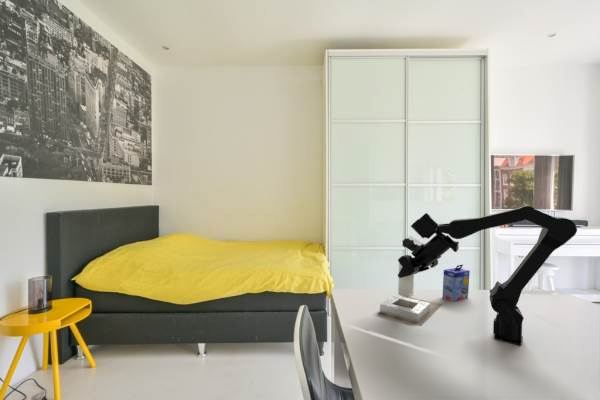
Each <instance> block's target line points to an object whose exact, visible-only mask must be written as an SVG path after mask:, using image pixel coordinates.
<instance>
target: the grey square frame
mask: <svg viewBox="0 0 600 400" xmlns="http://www.w3.org/2000/svg"><path fill="white" fill-rule="evenodd" d="M379 312H380V313H383V314H386V315H390V316H394V317H397V318H401V319H405V320H409V321H412V322H416V323H419V322H420V321H421V320H422V319H423V318H424V317H425V316H426V315H427V314H428V313H429V312H430V303H428V302H423V301H419V300H414V299H410V298H406V297H402V296H401V295H396V294H394V295H392V296H391V297H389V298H387V299H386V300H384V301H383V302H381V303H380V305H379Z"/></svg>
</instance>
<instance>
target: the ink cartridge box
mask: <svg viewBox="0 0 600 400" xmlns="http://www.w3.org/2000/svg"><path fill="white" fill-rule="evenodd" d="M463 266H464V264H459V265H456V267H454V268H447V269H443V278H442V297H441V298H443V299H445V300H449V301H451V302H458V301H461V300H467V299H468V298H469V288H470V287H469V286H470V273H471V272H470V270H469V269H465V268H463Z"/></svg>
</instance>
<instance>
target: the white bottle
mask: <svg viewBox="0 0 600 400" xmlns="http://www.w3.org/2000/svg"><path fill="white" fill-rule="evenodd" d="M401 269H402V265H401V264H400V263H399V262H398V273H399V272H400V270H401ZM414 276H415V274H414V275H410V276H406V277H402V278H399V277H398V286H397V287H398V288H397V289H398V296H401V297H402V296H405V297H411V298H412V297H413V296H414V285H415V283H414V282H415V281H414V279H415V277H414Z"/></svg>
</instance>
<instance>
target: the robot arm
mask: <svg viewBox="0 0 600 400" xmlns="http://www.w3.org/2000/svg"><path fill="white" fill-rule="evenodd" d="M522 221H528V222H531V223H533V224H535V225H536V226H540V227H542V228H541V230H540V232H539V235H538V239H537V241H536V243H535V244H534V245H533V247H532V248H531V249H530V250H529V252H528V253H527V255H525V257H524V258H523V259H522V261H521V262H520V263H519V265H518V266H517V267H516V269H515V270H514V271H513V272H512V273H511V275H510V276H509V278H508V279H507V280H506V281H504V282H503V283H501V282H500V281H498V280H497V281H496V283H495V284H494V286H493V287H492V288H491V289H489V297H488V298H489V301H490V304H491V308H492V309H493V311H494V313H495V312H496V315H495V318H493V326H492V327H493V328H492V330H493V333H492V334H493V335H494V337H493V338H494V339H495V340H499V341H503V342H505V343H509V344H515V345H517V346H522V344H523V339H524V338H523V321H524V316H523V314H522V311H521V310H520V308H519V307H518V306H517V305H518V303H519V301H520V297H521V294H522V291H523V290H524V289H525V287H527V285H528V284H529V282H530V281H531V279H533V277H534V276H535V275H536V273H538V271H539V270H540V269H541V267H542V266H543V265H544V264H545V262H546V261H547V260H548V259H549V257H550V256H551V255H552V254H553V252H554V251H556V250H557V249H559V248H560V247H562V246H563V245H565V244H566V243H567V242H569V241H570V240H571V239H572V238H573V237H574V236H575V235H576V234H577V232H578V228H577V226H576V223H575V222H574V221H573V220H571V219H569V218H566V217H561V216H553V215H550V214H548V213H545V212H543V211H540V210H538V209H536V208H534V207H533V206H531V205H530V206H529V205H522V206H520V207H517V208H514V209H510V210H504V211H501V212H496V213H492V214H488V215H484V216H480V217H470V218H468V217H467V218H457V219H456V218H455V219H453V220H451V221H450V222H447V223H440V224H438V222H436V221H435V220H434V219H433V217H431V215H430V214H429V213H428V212H426V213H424V214H423V215H422V216H420V217H419V218H417V219H416V220H415V221H414V222H413V223H412V224H411V225H410V228H411V229H412V230H413V231H414V232H416V234H418V236H420V237H421V239H430V238H431V237H432V236H433V237H432V238H431V239H430V240H429V241H428V242H426V243H423V242H422V241H420V240H418V239H417V238H415V237H414V236H405V238H404V239H403V240H401V242H402V247H403V248H406V249H407V250H409V251H411V253H410V254H411V255H409V254H405V255H404V254H403V255H401V256H400V257H399V258H398V259H397V261H398V264H399V263H400V264H401V265H402V269H401V270H400V272H399V271H398V274H397V277H398V279H399V278H402V277H406V276H410V275H414V276H415V275H416V274H419V273H421V272H425V271H428V270H430V269H432V268H435V267H436V266H437V265H439V259H440V258H442V255H444V254H445V253H446V252H448V250H450V249H451V250H452V251H453V252H454V253H457V252H458V251H459V243H460V242H459V241H455V240H461V239H464V238H467V237H469V236H471V235H474V234H476V233H478V232H481V231H484V230H487V229H492V228H495V227H496V228H497V227H501V226H505V225H509V224H513V223H519V222H522ZM434 234H435V235H434ZM453 239H455V240H453Z"/></svg>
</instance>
